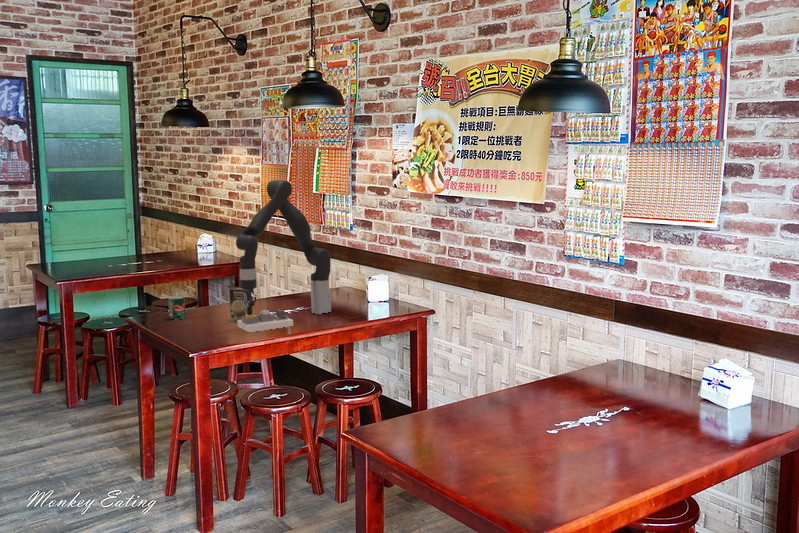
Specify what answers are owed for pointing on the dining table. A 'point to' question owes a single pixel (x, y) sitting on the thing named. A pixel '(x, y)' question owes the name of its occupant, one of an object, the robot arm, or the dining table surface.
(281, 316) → the dark grey cube
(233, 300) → the coffee box
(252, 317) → the amber button
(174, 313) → the canned tomato
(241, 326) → the control panel
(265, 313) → the grey switch
